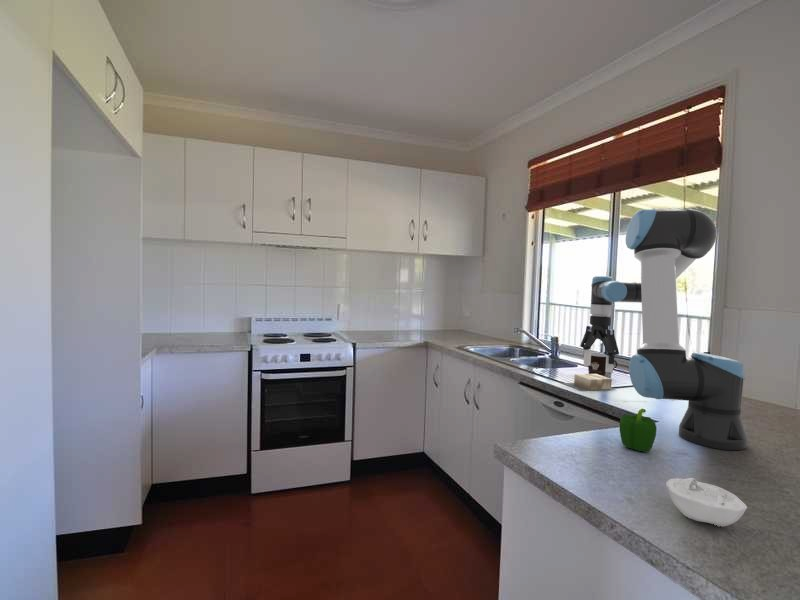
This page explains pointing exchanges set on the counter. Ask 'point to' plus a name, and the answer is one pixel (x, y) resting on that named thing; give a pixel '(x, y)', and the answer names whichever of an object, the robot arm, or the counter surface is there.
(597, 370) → the coffee mug
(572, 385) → the mat
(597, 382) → the birch block
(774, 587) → the counter surface
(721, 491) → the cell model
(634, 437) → the bell pepper
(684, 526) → the counter surface
